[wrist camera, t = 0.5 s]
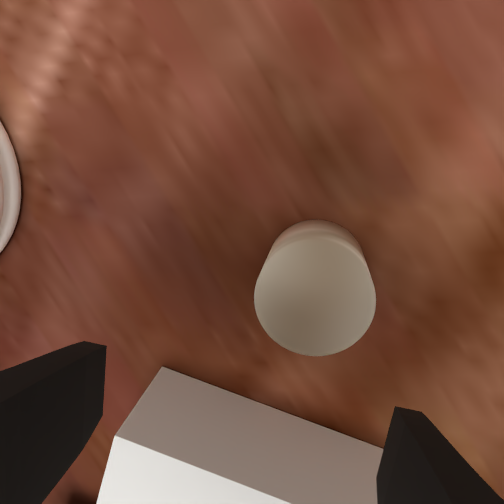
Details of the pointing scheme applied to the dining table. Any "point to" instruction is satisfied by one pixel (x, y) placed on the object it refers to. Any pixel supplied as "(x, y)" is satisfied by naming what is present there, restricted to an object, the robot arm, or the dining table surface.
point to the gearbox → (230, 452)
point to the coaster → (8, 189)
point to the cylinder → (315, 289)
